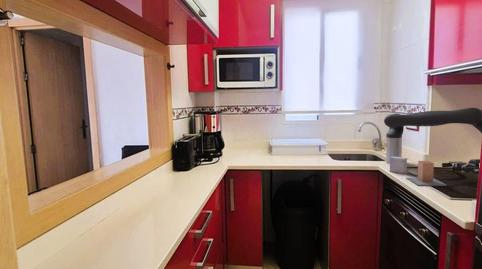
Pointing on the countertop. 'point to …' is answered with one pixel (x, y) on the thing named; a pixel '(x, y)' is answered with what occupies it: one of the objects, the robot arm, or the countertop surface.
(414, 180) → the slate mat
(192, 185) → the countertop surface
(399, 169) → the medicine box
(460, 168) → the robot arm
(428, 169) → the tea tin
